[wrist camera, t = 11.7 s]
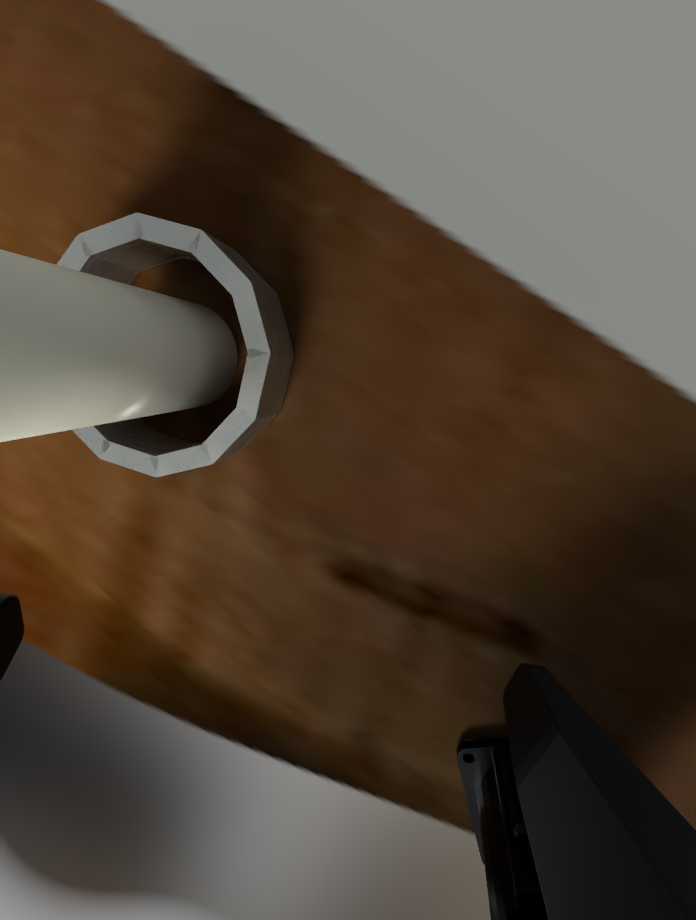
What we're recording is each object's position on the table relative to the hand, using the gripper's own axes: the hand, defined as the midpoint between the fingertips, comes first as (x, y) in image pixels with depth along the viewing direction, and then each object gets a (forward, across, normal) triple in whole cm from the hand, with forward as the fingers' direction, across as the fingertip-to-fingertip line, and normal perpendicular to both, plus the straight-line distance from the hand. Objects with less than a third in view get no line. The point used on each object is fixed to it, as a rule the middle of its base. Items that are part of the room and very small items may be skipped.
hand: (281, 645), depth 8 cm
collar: (+14, +6, 0) cm, 15 cm away
